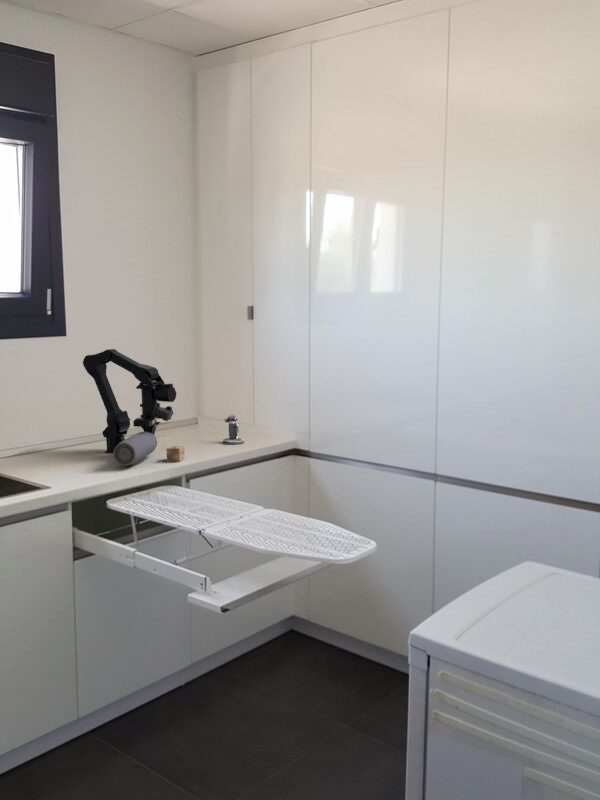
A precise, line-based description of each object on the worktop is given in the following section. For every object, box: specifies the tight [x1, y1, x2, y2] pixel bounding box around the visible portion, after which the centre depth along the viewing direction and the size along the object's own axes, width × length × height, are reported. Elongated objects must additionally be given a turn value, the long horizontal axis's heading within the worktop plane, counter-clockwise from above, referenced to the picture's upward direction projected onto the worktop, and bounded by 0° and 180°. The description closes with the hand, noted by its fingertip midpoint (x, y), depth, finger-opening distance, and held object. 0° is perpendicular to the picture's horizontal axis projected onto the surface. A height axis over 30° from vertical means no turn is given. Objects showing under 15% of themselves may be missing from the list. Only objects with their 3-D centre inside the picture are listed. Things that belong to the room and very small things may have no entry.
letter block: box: [165, 445, 186, 463], centre depth 293 cm, size 5×5×5 cm
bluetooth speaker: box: [112, 431, 158, 467], centre depth 290 cm, size 23×9×10 cm, turn 171°
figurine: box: [222, 414, 245, 446], centre depth 325 cm, size 8×8×12 cm
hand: (151, 441), depth 303 cm, fingers closed
